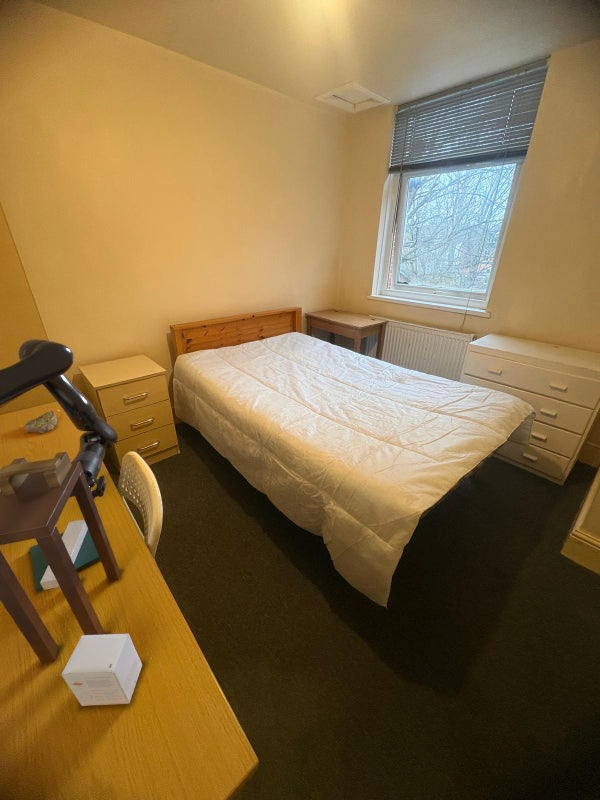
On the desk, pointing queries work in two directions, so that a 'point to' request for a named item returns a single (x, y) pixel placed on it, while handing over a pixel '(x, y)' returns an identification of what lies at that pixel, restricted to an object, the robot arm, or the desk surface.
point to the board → (82, 560)
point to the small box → (103, 669)
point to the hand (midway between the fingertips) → (64, 510)
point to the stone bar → (72, 543)
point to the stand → (48, 542)
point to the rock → (42, 423)
